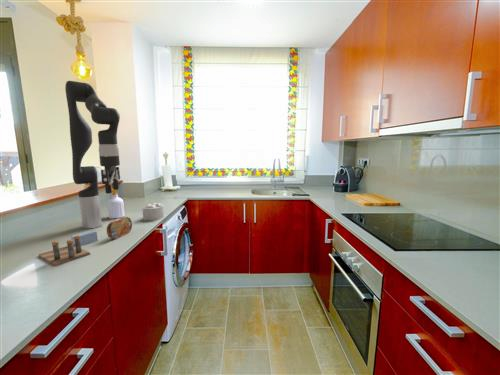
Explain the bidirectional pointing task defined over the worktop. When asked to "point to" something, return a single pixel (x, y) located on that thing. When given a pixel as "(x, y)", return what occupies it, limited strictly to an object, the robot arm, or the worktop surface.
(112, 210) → the soap bottle
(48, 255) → the board
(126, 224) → the tin
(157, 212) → the lumpy-topped squat cylinder
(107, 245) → the worktop surface
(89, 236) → the rectangular block
